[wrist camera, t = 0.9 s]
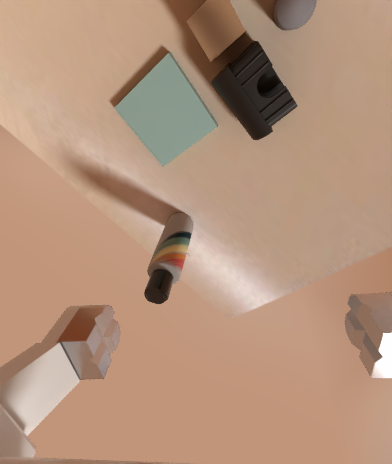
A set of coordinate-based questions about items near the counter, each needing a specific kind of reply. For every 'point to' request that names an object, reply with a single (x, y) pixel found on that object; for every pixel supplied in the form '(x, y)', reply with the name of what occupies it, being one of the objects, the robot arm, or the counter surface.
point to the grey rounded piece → (293, 13)
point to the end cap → (254, 92)
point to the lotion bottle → (168, 257)
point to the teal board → (166, 111)
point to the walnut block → (215, 27)
